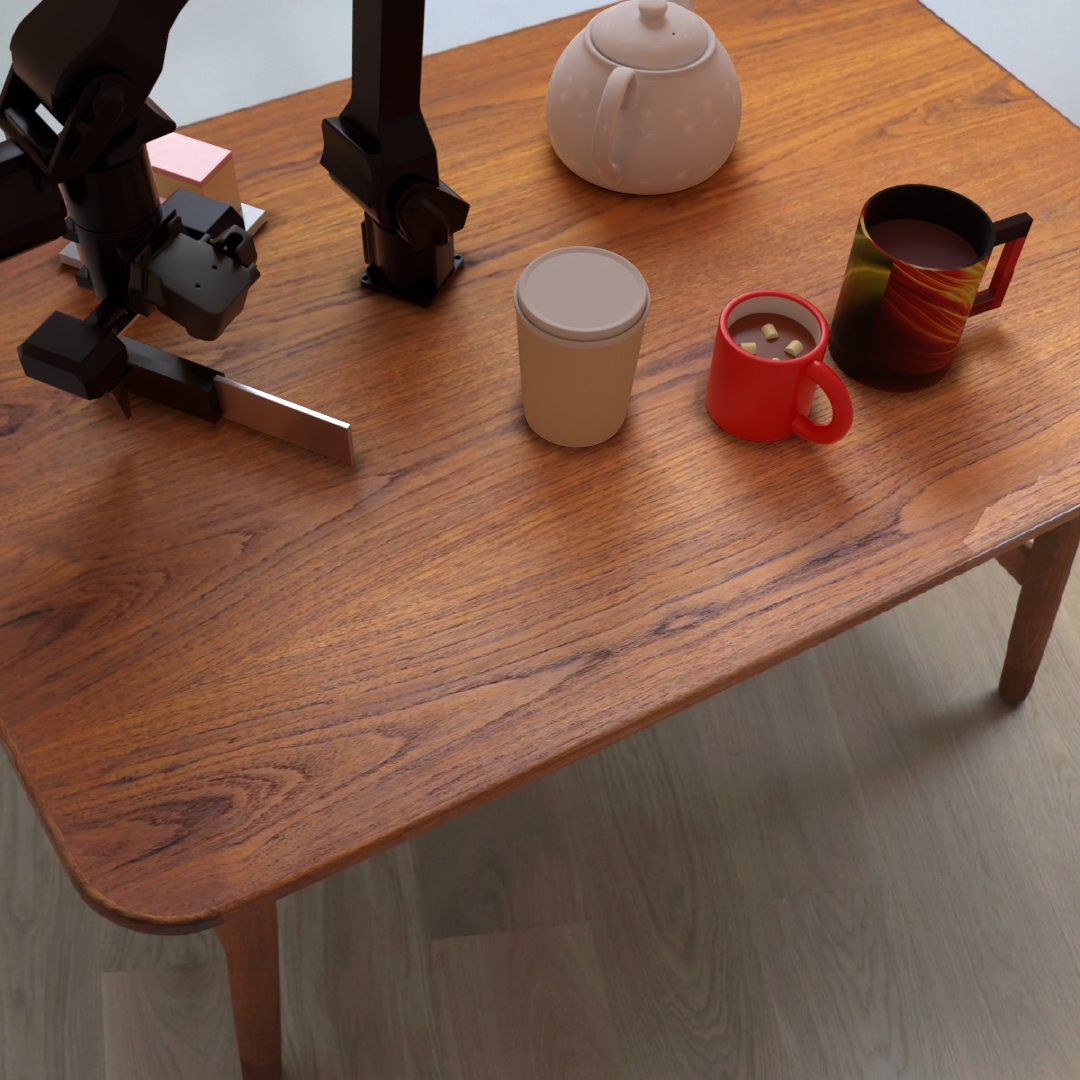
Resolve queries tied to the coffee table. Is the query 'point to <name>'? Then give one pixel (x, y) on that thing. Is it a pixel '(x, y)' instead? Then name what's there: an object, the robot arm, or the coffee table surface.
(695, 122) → the teapot
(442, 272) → the robot arm
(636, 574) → the coffee table surface
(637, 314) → the coffee cup
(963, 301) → the mug
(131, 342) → the knife
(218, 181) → the cake plate
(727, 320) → the mug
